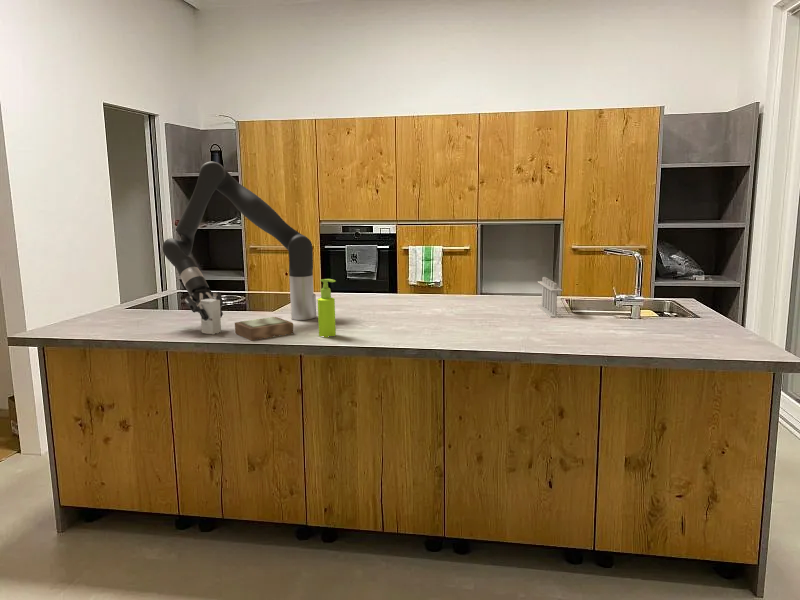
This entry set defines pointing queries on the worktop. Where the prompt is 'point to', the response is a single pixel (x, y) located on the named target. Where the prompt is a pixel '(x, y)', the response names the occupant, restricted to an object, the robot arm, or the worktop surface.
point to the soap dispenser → (326, 311)
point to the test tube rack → (549, 298)
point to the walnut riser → (263, 328)
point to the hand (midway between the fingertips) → (213, 317)
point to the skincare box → (211, 316)
